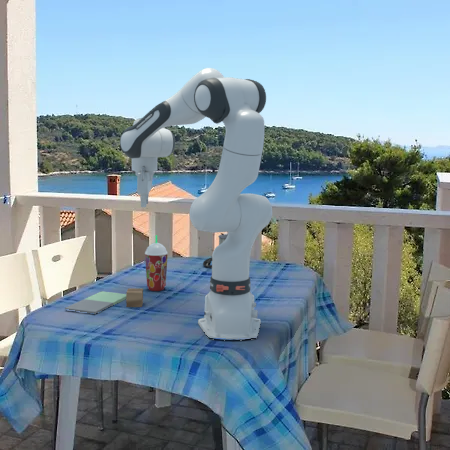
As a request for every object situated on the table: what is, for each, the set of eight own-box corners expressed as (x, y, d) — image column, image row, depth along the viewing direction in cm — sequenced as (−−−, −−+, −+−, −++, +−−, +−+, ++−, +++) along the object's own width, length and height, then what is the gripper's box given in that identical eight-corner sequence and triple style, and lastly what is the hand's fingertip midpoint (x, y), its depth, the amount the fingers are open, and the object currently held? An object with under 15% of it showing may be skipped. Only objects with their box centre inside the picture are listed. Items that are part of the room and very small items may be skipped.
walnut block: (141, 307, 188) (141, 292, 187) (126, 307, 188) (126, 292, 187) (143, 302, 193) (143, 288, 192) (128, 302, 193) (127, 288, 192)
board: (95, 315, 178) (95, 311, 178) (65, 311, 182) (64, 308, 182) (129, 297, 199) (129, 294, 199) (101, 294, 203) (101, 291, 202)
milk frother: (239, 273, 239) (240, 238, 236) (201, 272, 239) (201, 237, 237) (239, 265, 253) (240, 232, 250) (203, 265, 253) (204, 231, 251)
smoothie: (172, 289, 211) (172, 235, 208) (154, 293, 205) (154, 238, 202) (157, 285, 216) (157, 232, 213) (140, 289, 210) (139, 235, 207)
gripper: (152, 167, 189) (152, 209, 191) (155, 164, 209) (155, 202, 211) (132, 167, 189) (132, 209, 191) (137, 164, 209) (137, 202, 211)
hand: (144, 205), depth 201 cm, fingers open, 8 cm apart
